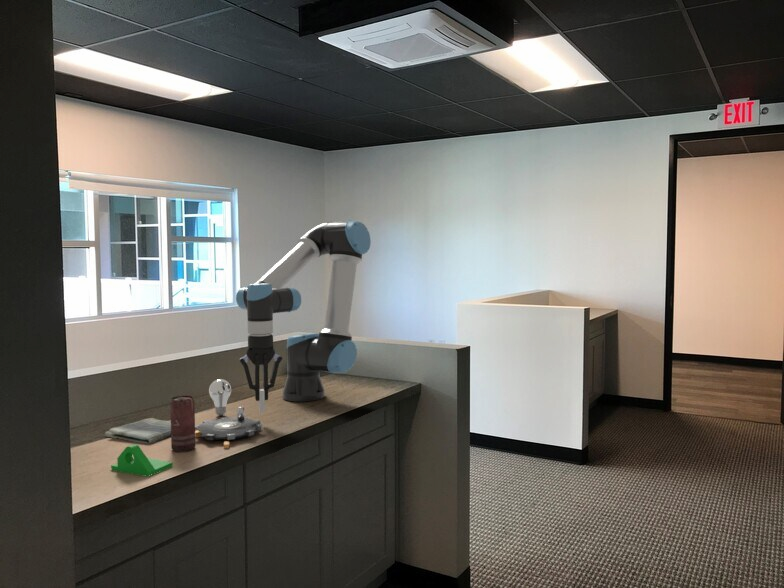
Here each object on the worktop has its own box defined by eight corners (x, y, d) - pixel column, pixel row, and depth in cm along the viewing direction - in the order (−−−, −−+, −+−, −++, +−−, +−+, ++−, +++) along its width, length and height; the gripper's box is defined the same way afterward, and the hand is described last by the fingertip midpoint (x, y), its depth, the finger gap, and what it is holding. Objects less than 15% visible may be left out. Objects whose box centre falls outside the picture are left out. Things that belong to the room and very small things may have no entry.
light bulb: (208, 414, 202) (207, 378, 201) (230, 412, 205) (229, 376, 204) (211, 419, 196) (210, 382, 195) (233, 417, 198) (232, 380, 198)
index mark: (224, 445, 170) (224, 441, 169) (229, 444, 170) (229, 441, 170) (223, 448, 167) (223, 444, 167) (229, 447, 167) (229, 444, 167)
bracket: (172, 467, 153) (172, 440, 152) (148, 478, 146) (147, 449, 145) (136, 461, 158) (135, 434, 157) (111, 471, 151) (110, 443, 150)
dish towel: (194, 429, 187) (194, 419, 186) (149, 446, 170) (149, 435, 170) (148, 423, 194) (148, 412, 194) (100, 438, 178) (100, 427, 178)
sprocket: (258, 418, 192) (258, 403, 191) (265, 436, 173) (265, 419, 173) (192, 424, 186) (192, 408, 186) (192, 443, 167) (192, 425, 167)
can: (189, 453, 163) (187, 400, 162) (167, 451, 164) (165, 399, 163) (200, 446, 169) (199, 395, 168) (179, 444, 170) (177, 394, 169)
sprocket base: (247, 426, 187) (247, 423, 187) (251, 438, 176) (251, 434, 176) (205, 430, 183) (205, 427, 183) (206, 442, 172) (206, 438, 172)
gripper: (280, 331, 194) (281, 406, 195) (237, 333, 190) (239, 409, 191) (283, 334, 186) (285, 412, 188) (239, 336, 182) (241, 415, 184)
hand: (261, 410), depth 190 cm, fingers closed
